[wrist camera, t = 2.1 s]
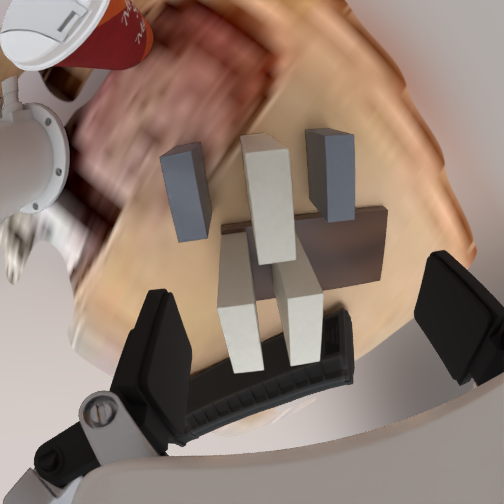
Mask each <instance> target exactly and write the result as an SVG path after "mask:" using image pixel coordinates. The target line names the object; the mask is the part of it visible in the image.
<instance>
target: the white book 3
mask: <svg viewBox="0 0 504 504" xmlns="http://www.w3.org/2000/svg"><path fill="white" fill-rule="evenodd" d="M295 242H296V260H292V261H285V262H278V263H271V264H272V274H273V285H274V291H275V295H276V300H277V305H278V309H279V314H280V318H281V323H282V328H283V332H284V337H285V342H286V347H287V351H288V356H289V361H290V366H295V365H301V364H307V363H312V362H318V361H320V353H321V338H322V321H323V298H324V293H323V291H322V288H321V286H320V284H319V282H318V280H317V277H316V275H315V273H314V271H313V269H312V266H311V264H310V262H309V260H308V258H307V256H306V253H305V251H304V249H303V247H302V245H301V243H300V241H299V239H298V236H297V234H296V232H295Z"/></svg>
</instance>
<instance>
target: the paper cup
mask: <svg viewBox="0 0 504 504" xmlns="http://www.w3.org/2000/svg"><path fill="white" fill-rule="evenodd" d="M1 33H2V34H0V44H1V48H2V50H3V52H4V54H5V56H6V57H7V58H8V59H9V60H11V61H12V62H13V63H14V64H15V65H16V66H17V67H18V68H20V69H22V70H26V71H39V70H43V69H46V68H49V67H51V66H65V67H84V68H97V69H108V70H124V69H128V68H131V67H133V66H135V65H137V64H138V63H140V62H141V61H142V60H143V59H144V58H145V57H146V56H147V55H148V53H149V51H150V50H151V47H152V44H153V32H152V29H151V27H150V25H149V24H148V22H147V21H146V20H145V18H144V17H143V16H142V14H141V13H140V12H139V11H138V9H137V8H136V7H135V6H134V4H133V3H132V2H131V1H130V0H13V1H12V2H11V5H10V6H9V8H8V10H7V12H6V15H5V17H4V21H3V24H2V28H1Z"/></svg>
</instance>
